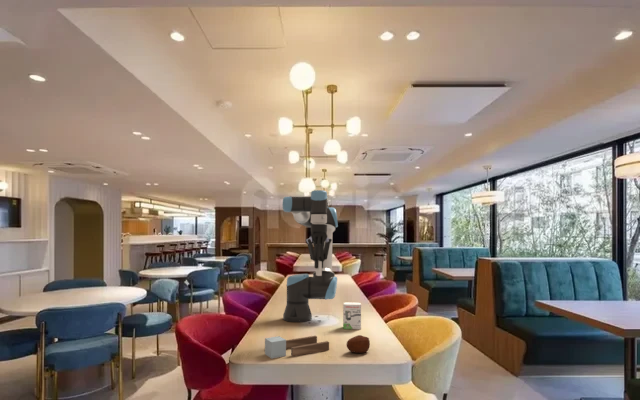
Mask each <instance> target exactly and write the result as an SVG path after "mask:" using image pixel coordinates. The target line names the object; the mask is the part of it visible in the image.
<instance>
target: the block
mask: <svg viewBox="0 0 640 400" xmlns="http://www.w3.org/2000/svg"><path fill="white" fill-rule="evenodd" d="M286 340H287V339H286V338H283V337H281V336H280V335H279V336H277V335H276V336H271V337H265V338H264V355H265V356H267V357H268V358H270V359H277V358H282V357H286V356H287V349H286Z"/></svg>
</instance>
